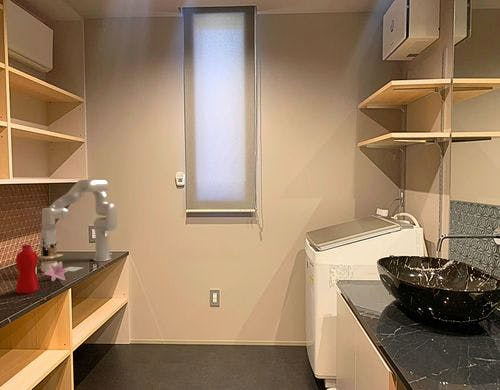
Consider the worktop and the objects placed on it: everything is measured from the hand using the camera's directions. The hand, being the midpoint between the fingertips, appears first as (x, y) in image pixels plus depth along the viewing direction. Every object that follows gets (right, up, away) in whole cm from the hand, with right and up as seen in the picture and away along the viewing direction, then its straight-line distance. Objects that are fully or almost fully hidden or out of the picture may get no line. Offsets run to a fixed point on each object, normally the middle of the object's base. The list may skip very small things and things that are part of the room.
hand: (48, 254), depth 256 cm
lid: (0, -1, 0) cm, 1 cm away
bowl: (0, -11, +1) cm, 11 cm away
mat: (+13, -11, +4) cm, 17 cm away
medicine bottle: (-6, -12, -14) cm, 19 cm away
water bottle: (+12, -13, -45) cm, 48 cm away
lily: (+14, -12, -20) cm, 27 cm away
